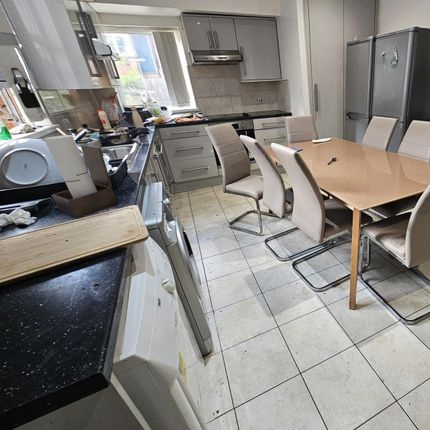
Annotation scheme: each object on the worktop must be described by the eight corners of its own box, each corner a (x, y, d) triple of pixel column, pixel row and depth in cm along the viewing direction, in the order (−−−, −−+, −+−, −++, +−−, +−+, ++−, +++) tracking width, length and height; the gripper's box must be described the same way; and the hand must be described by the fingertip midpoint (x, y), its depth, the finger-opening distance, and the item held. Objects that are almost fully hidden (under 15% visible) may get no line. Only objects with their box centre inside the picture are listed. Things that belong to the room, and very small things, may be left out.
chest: (77, 218, 92) (68, 200, 89) (60, 211, 98) (51, 194, 95) (118, 204, 102) (111, 187, 99) (100, 198, 108) (93, 182, 105)
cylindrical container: (106, 204, 101) (76, 135, 89) (83, 211, 95) (48, 139, 84) (97, 200, 104) (67, 134, 93) (75, 208, 99) (40, 138, 88)
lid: (98, 147, 93) (113, 146, 97) (80, 145, 99) (95, 143, 103) (110, 186, 99) (124, 183, 102) (92, 182, 105) (106, 179, 108)
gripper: (-18, 44, 79) (15, 107, 86) (-22, 37, 68) (16, 109, 76) (18, 46, 84) (46, 105, 91) (20, 39, 73) (51, 107, 80)
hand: (32, 107), depth 83 cm, fingers open, 9 cm apart
